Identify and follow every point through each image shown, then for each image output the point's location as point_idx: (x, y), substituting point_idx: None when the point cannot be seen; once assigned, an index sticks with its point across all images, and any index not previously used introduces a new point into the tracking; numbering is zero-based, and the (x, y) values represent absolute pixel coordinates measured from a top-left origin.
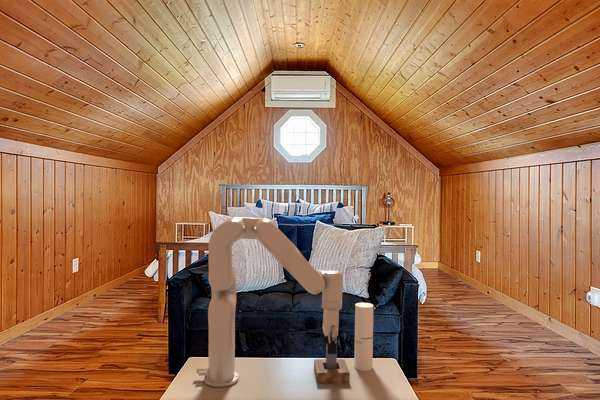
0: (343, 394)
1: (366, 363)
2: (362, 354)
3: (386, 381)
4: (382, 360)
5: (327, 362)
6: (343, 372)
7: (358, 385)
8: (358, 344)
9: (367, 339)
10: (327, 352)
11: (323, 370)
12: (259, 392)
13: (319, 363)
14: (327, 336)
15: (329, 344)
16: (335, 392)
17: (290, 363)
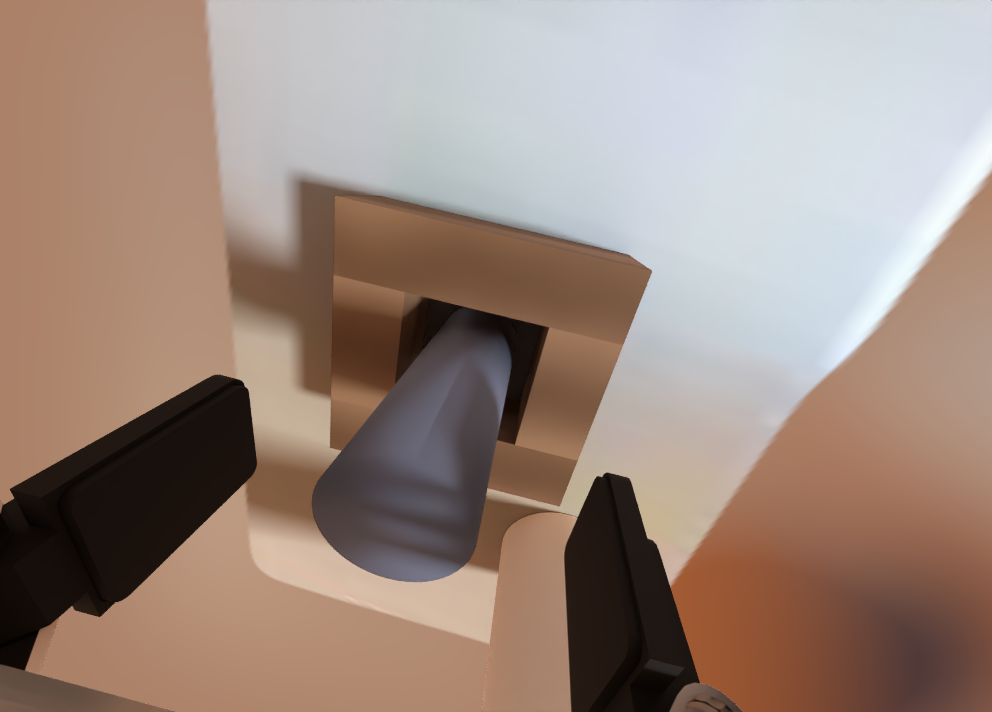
0: (232, 320)
1: (497, 582)
2: (498, 629)
3: None
4: None
5: (430, 350)
6: (331, 411)
7: None
8: (518, 710)
9: None
10: (394, 401)
11: (377, 275)
12: None
13: (537, 292)
14: (605, 623)
15: (64, 489)
16: (253, 283)
17: (887, 39)
